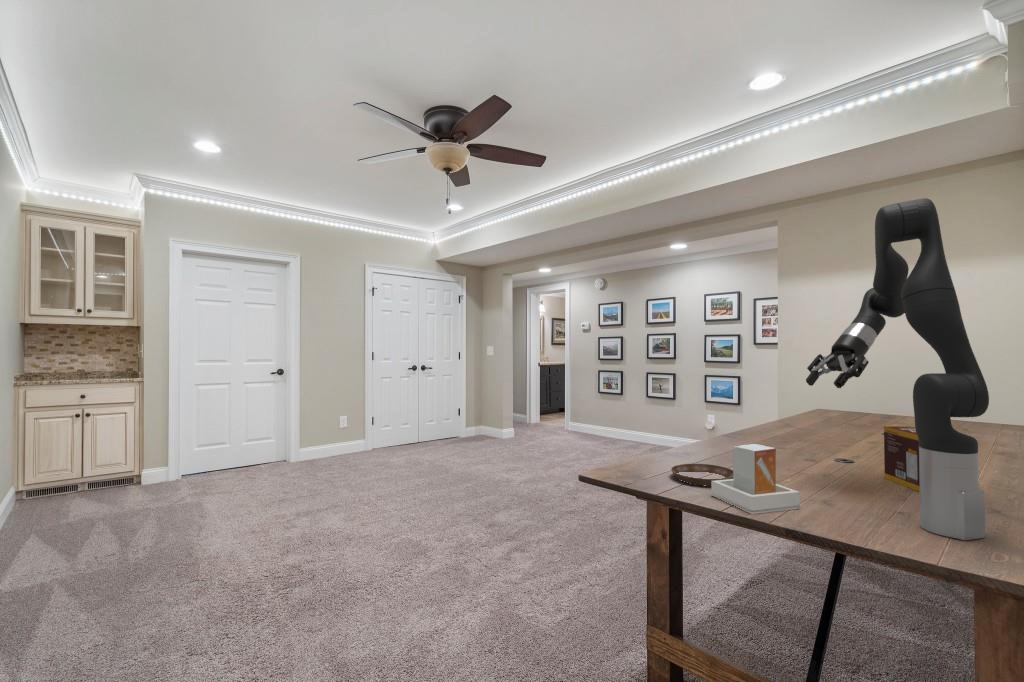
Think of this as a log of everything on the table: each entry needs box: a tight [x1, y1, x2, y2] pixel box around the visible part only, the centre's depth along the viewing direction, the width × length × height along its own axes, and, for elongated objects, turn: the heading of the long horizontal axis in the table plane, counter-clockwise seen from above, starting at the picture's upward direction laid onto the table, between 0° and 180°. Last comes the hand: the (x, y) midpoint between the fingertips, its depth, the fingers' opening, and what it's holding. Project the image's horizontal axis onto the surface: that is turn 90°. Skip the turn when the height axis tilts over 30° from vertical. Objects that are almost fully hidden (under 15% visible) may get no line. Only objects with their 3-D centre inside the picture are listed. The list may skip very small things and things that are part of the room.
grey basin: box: [710, 479, 801, 515], centre depth 120 cm, size 14×14×4 cm
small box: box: [732, 443, 777, 495], centre depth 120 cm, size 8×6×13 cm
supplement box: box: [883, 425, 920, 493], centre depth 134 cm, size 10×15×16 cm
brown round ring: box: [670, 463, 733, 487], centre depth 140 cm, size 18×18×3 cm
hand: (822, 384), depth 130 cm, fingers open, 8 cm apart
